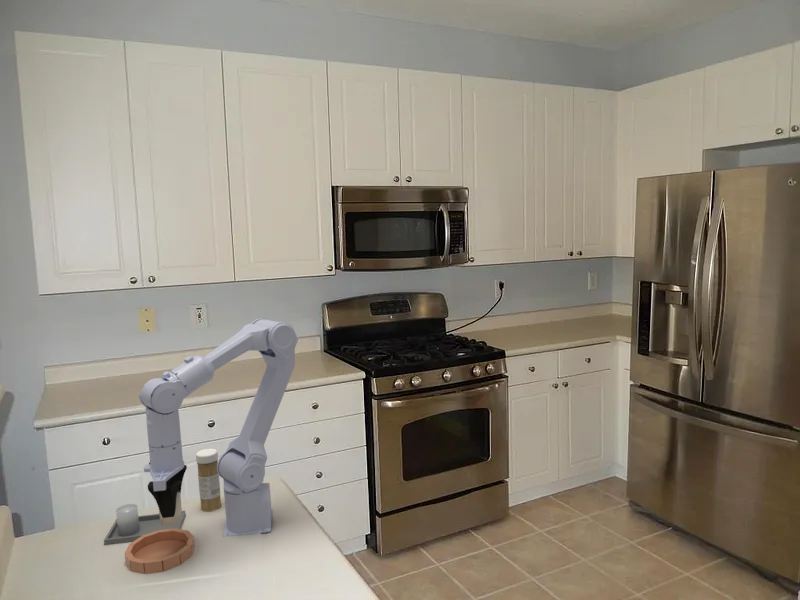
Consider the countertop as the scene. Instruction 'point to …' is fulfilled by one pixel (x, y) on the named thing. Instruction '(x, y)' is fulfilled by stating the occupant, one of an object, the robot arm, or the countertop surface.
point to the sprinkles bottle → (208, 480)
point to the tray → (140, 529)
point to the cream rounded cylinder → (177, 516)
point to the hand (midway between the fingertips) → (170, 510)
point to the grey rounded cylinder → (127, 520)
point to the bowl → (159, 550)
